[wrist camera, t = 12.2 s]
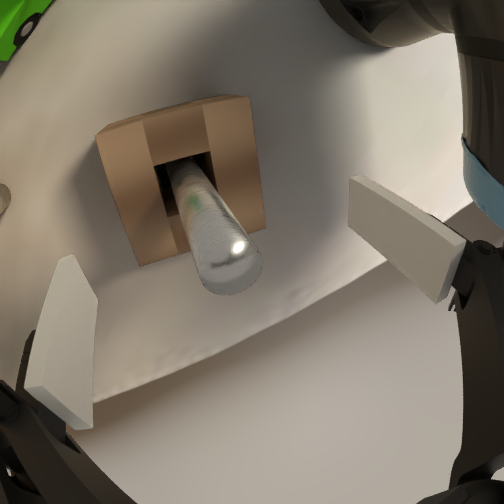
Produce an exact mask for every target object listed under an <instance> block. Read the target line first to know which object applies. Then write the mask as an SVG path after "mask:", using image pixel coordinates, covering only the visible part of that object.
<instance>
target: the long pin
mask: <svg viewBox="0 0 504 504" xmlns="http://www.w3.org/2000/svg"><path fill="white" fill-rule="evenodd" d="M166 169H167V173H168V176H169V180H170V183H171V187H172V190H173V194H174V197H175V200H176V204H177V207H178V210H179V214H180V217H181V220H182V223H183V227H184V230H185V233H186V236H187V239H188V242H189V245H190V249H191V252H192V255H193V258H194V261H195V264H196V267H197V270H198V273H199V276H200V279H201V281H202V283H203V285H204V286H205V287H206V288H207V289H208V290H209V291H211V292H213V293H215V294H219V295H231V294H236V293H239V292H241V291H243V290H245V289H247V288H248V287H249V286H251V285H252V284H253V283H254V282H255V281H256V279H257V278H258V276H259V274H260V272H261V269H262V256H261V254H260V252H259V250H258V249H257V248H256V246H255V245H254V243H253V242H252V240H251V239H250V238H249V236H248V235H247V233H246V232H245V230H244V229H243V228H242V226H241V225H240V223H239V222H238V220H237V219H236V218H235V216H234V215H233V213H232V212H231V211H230V209H229V208H228V206H227V205H226V203H225V202H224V201H223V199H222V198H221V196H220V195H219V194H218V192H217V191H216V189H215V188H214V186H213V185H212V184H211V182H210V181H209V179H208V178H207V177H206V175H205V174H204V172H203V171H202V170H201V168H200V167H199V165H198V164H197V162H196V161H195V160H194V158H193V157H192V155H191V156H188V157H184V158H180V159H176V160H173V161H169V162H166Z"/></svg>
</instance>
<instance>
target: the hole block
mask: <svg viewBox="0 0 504 504" xmlns="http://www.w3.org/2000/svg"><path fill="white" fill-rule="evenodd" d="M95 139H96V142H97V146H98V149H99V153H100V156H101V160H102V163H103V166H104V170H105V173H106V176H107V179H108V182H109V186H110V189H111V192H112V195H113V198H114V201H115V203H116V206H117V209H118V212H119V215H120V218H121V220H122V223H123V226H124V228H125V231H126V234H127V236H128V239H129V241H130V244H131V246H132V249H133V252H134V254H135V256H136V259H137V261H138V264H139V266H143V265H147V264H150V263H153V262H156V261H159V260H163V259H166V258H169V257H172V256H175V255H179V254H182V253H185V252H188V251H191V249H190V245H189V242H188V239H187V236H186V233H185V230H184V227H183V223H182V220H181V217H180V214H179V210H178V207H177V204H176V200H175V197H174V194H173V190H172V187H169V188H166V189H162V187H161V184H160V180H159V176H158V172H157V169H156V165H159V164H162V163H166V162H169V161H173V160H176V159H180V158H184V157H188V156H191V155H195V154H199V156H200V161H201V166H202V171H203V172H204V174H205V175H206V177H207V178H208V179H209V181H210V182H211V184H212V185H213V186H214V188H215V189H216V191H217V192H218V194H219V195H220V196H221V198H222V199H223V201H224V202H225V203H226V205H227V206H228V208H229V209H230V211H231V212H232V213H233V215H234V216H235V218H236V219H237V220H238V222H239V223H240V225H241V226H242V228H243V229H244V230H245V232H246V233H247V234H248V233H252V232H255V231H258V230H262V229H265V228H266V224H265V215H264V207H263V199H262V191H261V182H260V174H259V166H258V158H257V151H256V143H255V135H254V128H253V120H252V113H251V105H250V98H249V97H246V96H235V95H221V96H216V97H211V98H206V99H201V100H196V101H191V102H187V103H182V104H178V105H174V106H170V107H166V108H162V109H158V110H155V111H151V112H148V113H144V114H141V115H137V116H134V117H131V118H127V119H124V120H121V121H118V122H115V123H112V124H109V125H107V126H106V127H105V128H103V129H102V130H101V131H100V132H99V133H98V134H97V135H95Z"/></svg>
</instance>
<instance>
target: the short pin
mask: <svg viewBox="0 0 504 504" xmlns="http://www.w3.org/2000/svg"><path fill="white" fill-rule="evenodd" d="M10 201H11V193H10V190H9V189H8V187H7V186H6V185H4V184H0V214H1V213H2V212H3V211H4V210H5V209H6V207H7V206H8V205H9V204H10Z"/></svg>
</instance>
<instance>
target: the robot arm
mask: <svg viewBox="0 0 504 504" xmlns="http://www.w3.org/2000/svg"><path fill="white" fill-rule="evenodd" d="M320 2H321V3H322V5H323V6H324V8H325V9H326V11H327V12H328V13H329V14H330V16H331V17H332V18H333V19H334V20H335V21H336V22H337V23H338V24H339V25H340V26H341V27H342V28H343V29H344V30H346V31H347V32H348V33H350V34H351V35H352V36H354V37H355V38H357V39H359V40H361V41H363V42H365V43H367V44H370V45H374V46H379V47H403V46H408V45H411V44H414V43H416V42H419V41H421V40H424V39H426V38H429V37H432V36H435V35H437V34H440V33H454V34H455V39H456V44H457V51H458V59H459V67H460V76H461V88H462V103H463V133H462V137H461V141H462V146H463V176H464V182H465V185H466V188H467V190H468V192H469V194H470V196H471V197H472V199H473V201H474V202H475V203H476V205H477V206H478V207H479V208H480V209H481V210H482V211H483V212H484V213H485V214H486V215H488V217H489V218H490V219H491V220H492V221H493V222H494V223H495V224H497V225H498V226H499V227H500V228H502V229H503V230H504V0H320ZM348 226H349V227H350V228H351V229H352V230H354V231H355V232H356V233H357V234H358V235H360V236H361V237H362V238H363V239H364V240H366V241H367V242H368V243H369V244H370V245H371V246H373V247H374V248H375V249H376V250H377V251H378V252H379V253H381V254H382V255H383V256H384V257H385V258H386V259H387V260H389V261H390V262H391V263H392V264H393V265H394V266H395V267H396V268H398V269H399V270H400V271H401V272H402V273H403V274H404V275H405V276H406V277H407V278H408V279H410V280H411V281H412V282H413V283H414V284H415V285H416V286H417V287H418V288H419V289H420V290H421V291H422V292H423V293H424V294H425V295H426V296H427V297H429V298H430V299H431V300H432V301H433V302H434V303H435V304H437V303H438V302H440V301H442V300H443V299H445V298H446V297H447V296H448V293H449V290H450V288H451V285H452V286H453V287H454V288H455V289H456V291H455V293H454V296H453V298H452V300H451V303H450V305H449V308H448V311H451V309H452V307H453V305H454V304H455V309H454V311H455V312H456V313H457V320H458V327H459V336H460V345H461V356H462V371H463V433H462V445H461V450H460V452H459V454H458V456H457V458H456V459H455V461H454V464H453V467H452V471H451V477H450V483H449V490H447V491H444V492H441V493H438V494H436V495H433V496H430V497H427V498H424V499H422V500H421V501H419V502H418V503H417V504H504V481H500V480H492V479H491V477H492V476H493V474H494V473H495V472H496V471H497V470H499V469H501V468H502V467H504V242H503V245H502V247H500V248H496V247H495V246H493V245H492V244H490V243H488V242H486V241H483V240H476V241H474V242H473V243H472V242H470V241H469V240H467V239H466V238H465V237H463V236H462V235H460V234H459V233H458V232H456V231H455V230H453V229H452V228H451V227H448V226H447V225H446V224H445V223H443V222H441V221H440V220H439V219H437V218H436V217H434V216H433V215H430V214H428V213H426V212H424V211H423V210H421V209H419V208H418V207H416V206H415V205H413V204H411V203H410V202H408V201H407V200H405V199H403V198H402V197H400V196H398V195H397V194H395V193H393V192H392V191H390V190H388V189H386V188H385V187H383V186H381V185H379V184H378V183H376V182H374V181H372V180H370V179H369V178H367V177H365V176H363V175H358V176H353V177H350V182H349V212H348ZM97 309H98V299H97V297H96V295H95V294H94V292H93V290H92V288H91V286H90V285H89V283H88V281H87V279H86V277H85V275H84V273H83V272H82V270H81V268H80V266H79V264H78V262H77V260H76V258H75V256H74V254H71V255H68V256H65V257H63V258H60V259H59V261H58V264H57V266H56V269H55V272H54V274H53V277H52V280H51V283H50V286H49V289H48V292H47V295H46V298H45V301H44V304H43V308H42V311H41V314H40V318H39V321H38V325H37V329H36V330H33V331H32V332H31V334H30V335H29V337H28V339H27V341H26V343H25V347H24V351H23V354H24V355H22V359H21V363H22V364H20V369H19V373H18V378H17V384H16V390H15V391H14V390H13V389H12V388H11V387H10V386H8V385H7V384H6V383H5V382H4V381H3V380H0V504H137V503H136V502H135V501H133V500H132V499H131V498H130V497H129V496H128V495H127V494H125V493H124V492H123V491H122V490H121V489H120V488H119V487H118V486H117V485H116V484H115V483H114V482H113V481H112V480H111V479H110V478H109V477H108V476H107V475H106V474H105V473H104V472H103V471H102V470H101V469H100V468H99V467H98V466H97V465H96V464H95V463H94V462H93V461H92V460H91V459H90V458H89V456H88V455H87V454H86V453H85V452H84V451H83V450H82V449H81V447H80V446H79V445H78V444H77V443H76V441H74V439H73V438H72V437H71V436H70V435H69V434H68V433H67V432H66V424H68V425H69V426H70V427H72V428H73V429H75V430H82V429H90V428H93V412H92V411H93V408H92V384H93V356H94V340H95V328H96V318H97ZM6 468H7V469H9V470H10V471H11V476H12V477H11V476H9V475H8V472H7V469H6Z"/></svg>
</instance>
